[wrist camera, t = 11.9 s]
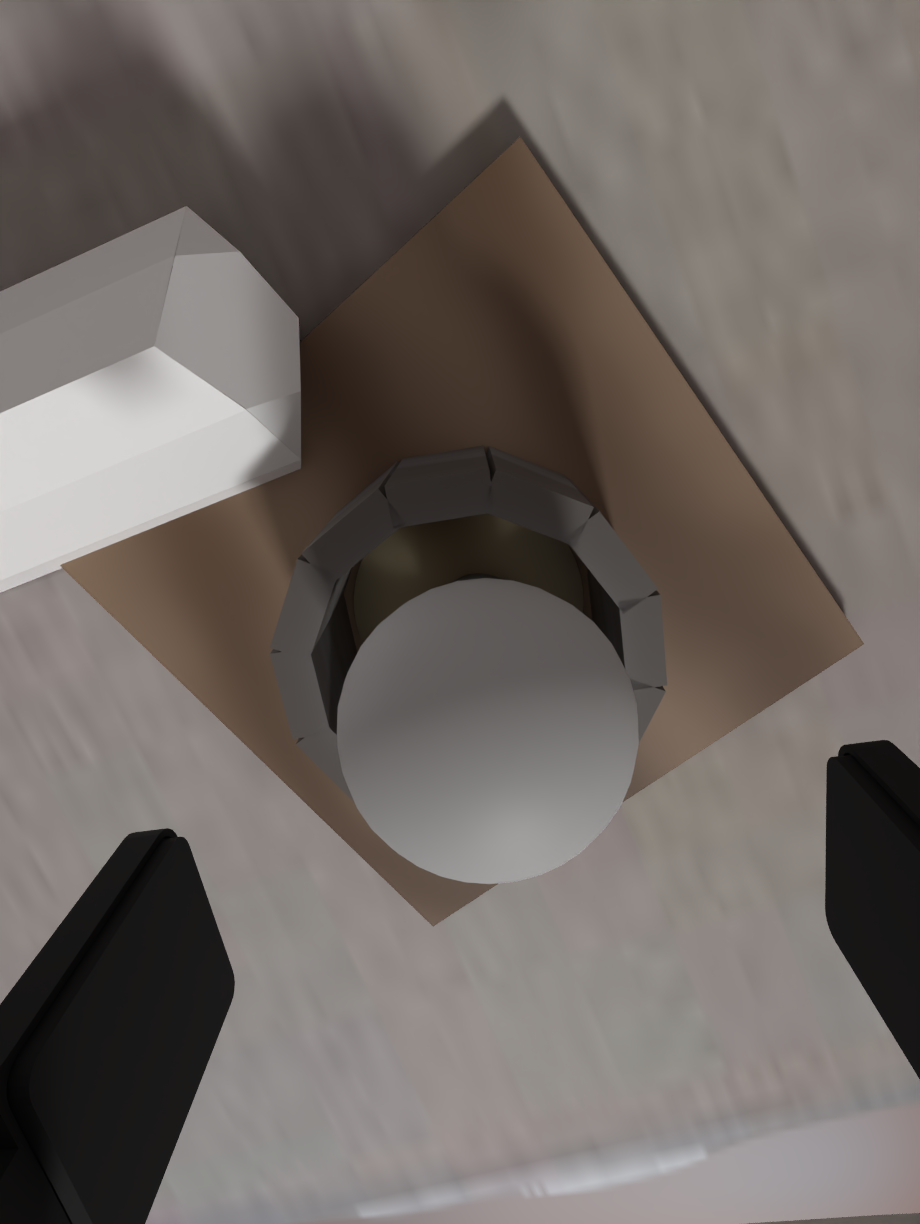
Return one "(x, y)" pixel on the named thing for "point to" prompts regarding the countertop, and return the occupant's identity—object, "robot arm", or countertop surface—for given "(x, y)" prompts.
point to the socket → (480, 510)
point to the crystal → (139, 392)
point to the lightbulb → (487, 730)
